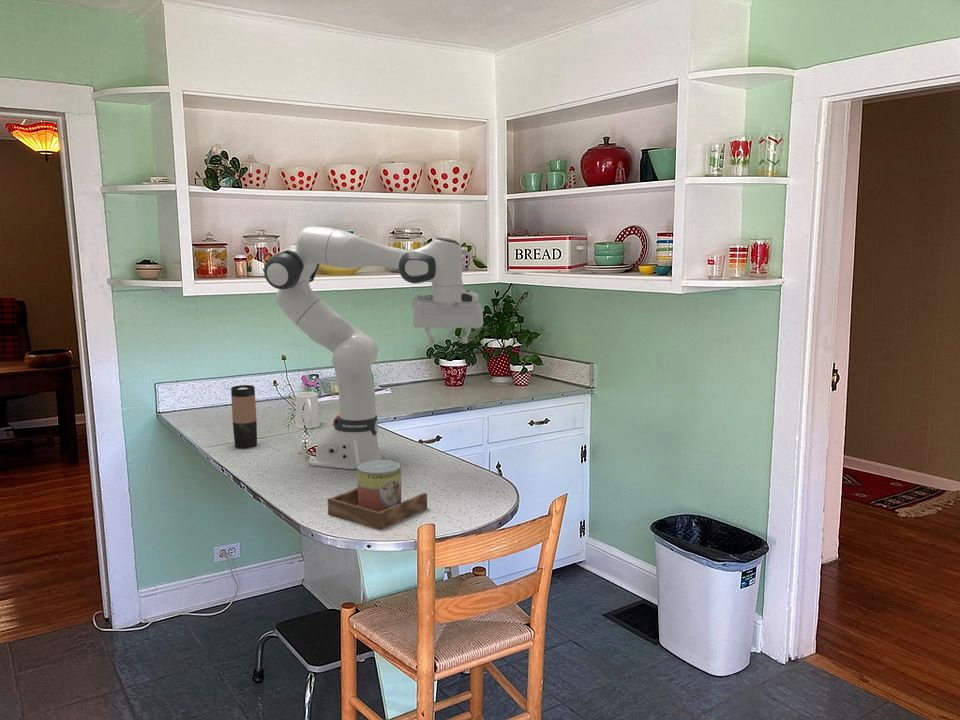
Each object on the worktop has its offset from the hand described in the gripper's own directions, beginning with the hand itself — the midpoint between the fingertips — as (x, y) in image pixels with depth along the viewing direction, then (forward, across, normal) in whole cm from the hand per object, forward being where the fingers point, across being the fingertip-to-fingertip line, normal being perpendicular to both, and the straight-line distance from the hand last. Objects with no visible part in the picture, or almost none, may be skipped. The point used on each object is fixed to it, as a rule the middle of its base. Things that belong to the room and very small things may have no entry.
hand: (448, 343), depth 232 cm
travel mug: (+39, -72, +23) cm, 85 cm away
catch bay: (+39, -14, -33) cm, 53 cm away
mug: (+39, -59, +49) cm, 86 cm away
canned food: (+39, -14, -32) cm, 53 cm away
